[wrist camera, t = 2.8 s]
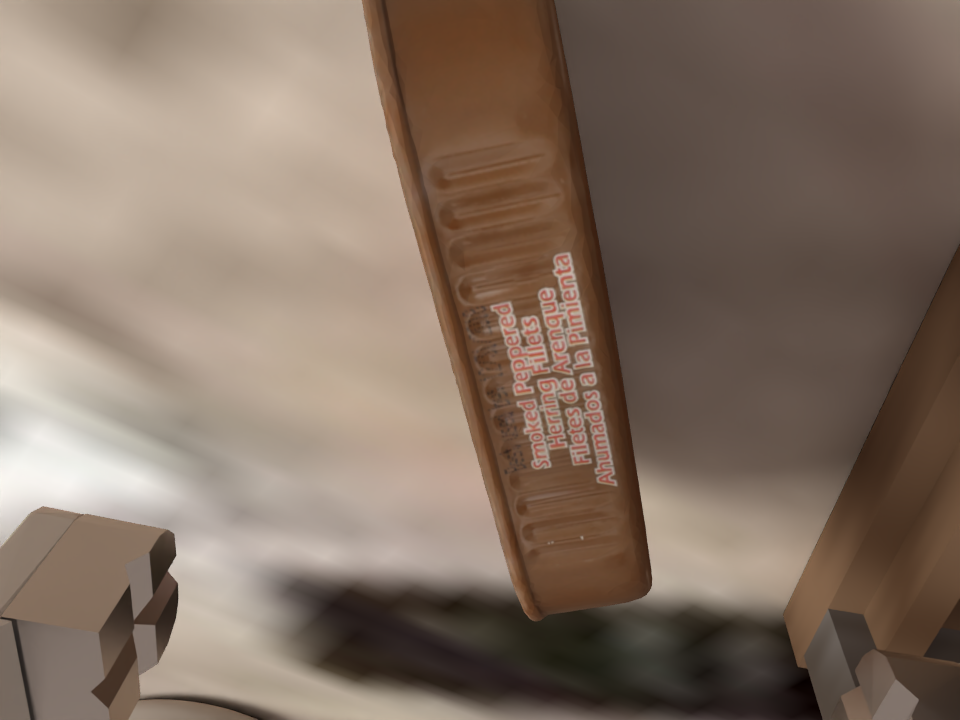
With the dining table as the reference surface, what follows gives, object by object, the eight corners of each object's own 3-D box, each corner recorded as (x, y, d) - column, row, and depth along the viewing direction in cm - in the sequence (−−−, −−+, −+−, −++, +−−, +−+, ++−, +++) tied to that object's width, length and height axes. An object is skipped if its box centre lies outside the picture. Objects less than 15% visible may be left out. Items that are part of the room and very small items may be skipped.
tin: (390, -129, 17) (261, -119, 10) (544, -170, 16) (527, -190, 9) (531, 458, 24) (516, 712, 17) (641, 444, 24) (674, 701, 16)
